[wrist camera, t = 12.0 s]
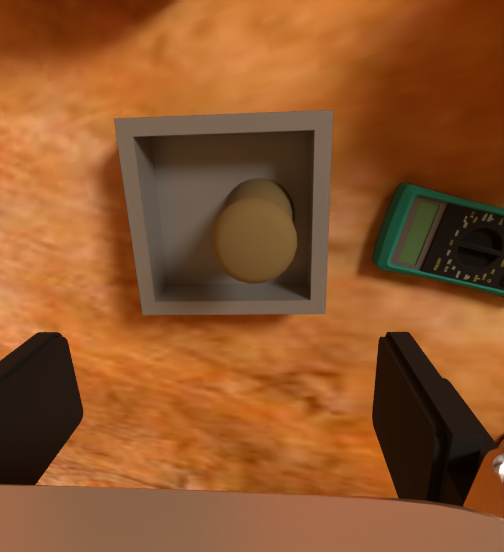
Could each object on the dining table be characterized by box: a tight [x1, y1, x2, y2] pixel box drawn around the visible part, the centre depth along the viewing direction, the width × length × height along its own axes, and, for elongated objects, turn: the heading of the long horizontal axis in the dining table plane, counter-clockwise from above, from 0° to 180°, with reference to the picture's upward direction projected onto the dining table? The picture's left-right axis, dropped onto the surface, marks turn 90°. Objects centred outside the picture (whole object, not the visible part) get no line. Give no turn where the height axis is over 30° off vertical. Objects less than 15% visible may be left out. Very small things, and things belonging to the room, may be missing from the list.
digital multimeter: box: [373, 183, 504, 297], centre depth 31 cm, size 7×15×3 cm, turn 77°
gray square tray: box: [114, 110, 333, 315], centre depth 29 cm, size 15×15×5 cm
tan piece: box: [211, 178, 297, 284], centre depth 26 cm, size 6×6×11 cm
